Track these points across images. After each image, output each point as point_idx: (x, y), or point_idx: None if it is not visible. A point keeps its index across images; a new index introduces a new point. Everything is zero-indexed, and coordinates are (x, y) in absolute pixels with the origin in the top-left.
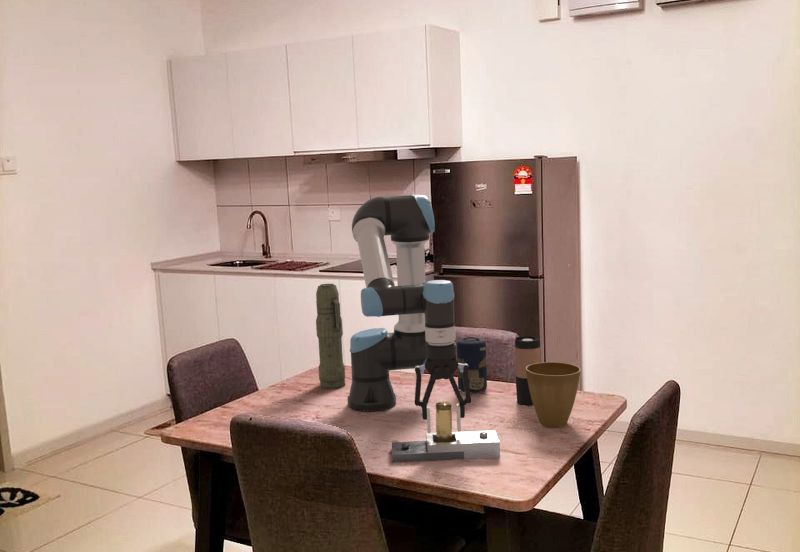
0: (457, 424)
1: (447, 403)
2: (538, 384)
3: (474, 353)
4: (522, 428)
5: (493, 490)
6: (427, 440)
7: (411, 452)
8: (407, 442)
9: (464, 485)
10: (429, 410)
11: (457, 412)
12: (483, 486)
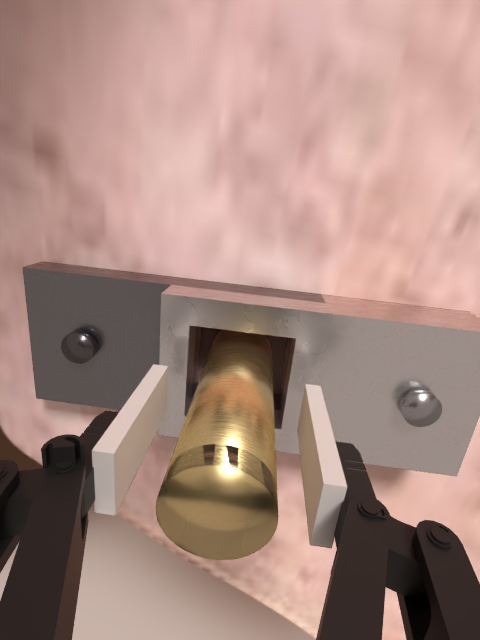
0: (302, 431)
1: (248, 509)
2: None
3: None
4: None
5: (318, 613)
6: None
7: (107, 395)
8: (89, 285)
9: (253, 574)
10: (119, 503)
11: (307, 510)
12: (300, 590)
